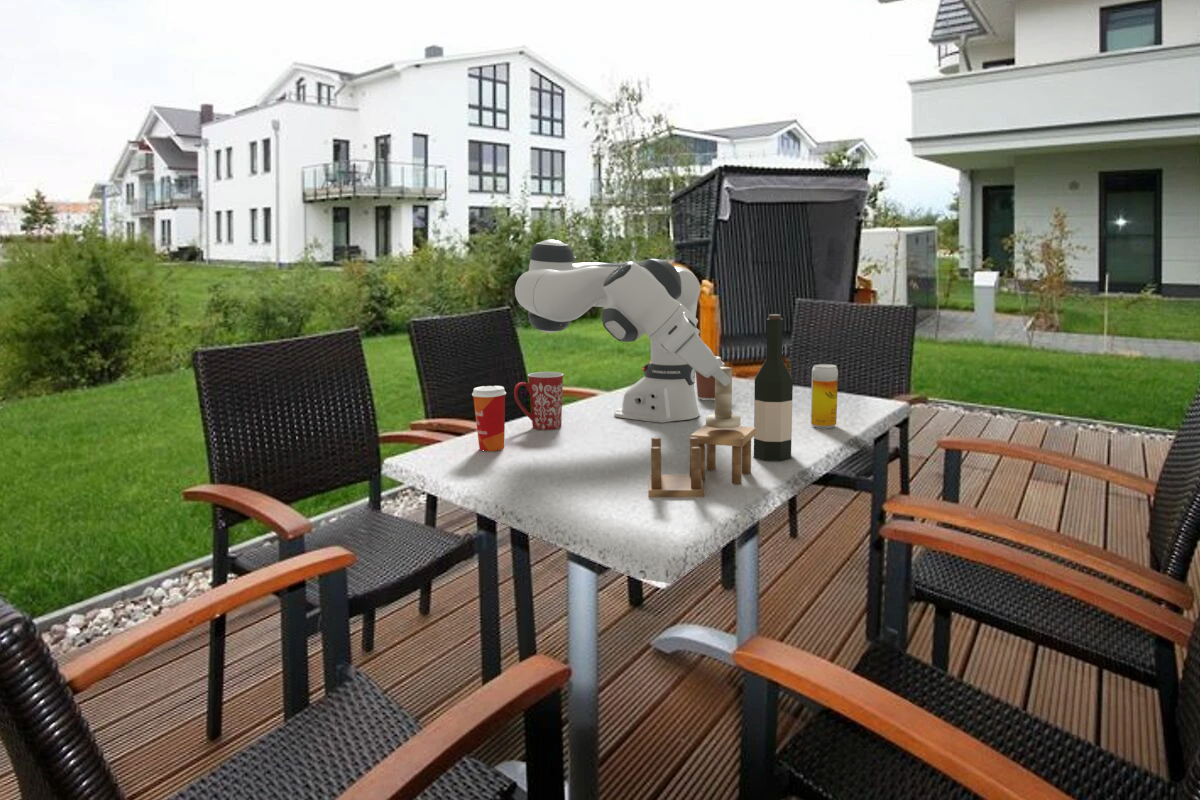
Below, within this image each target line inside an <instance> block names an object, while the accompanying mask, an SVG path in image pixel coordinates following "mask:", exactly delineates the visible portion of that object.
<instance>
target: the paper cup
mask: <svg viewBox="0 0 1200 800" xmlns="http://www.w3.org/2000/svg"><path fill="white" fill-rule="evenodd" d="M506 394H507V392H506V391H505V387H504V386H502V385H493V386H492V385H486V386H485V385H482V386H477V387H474V388H473V391H472V393H471V395H472V398H473V406H474V414H475V423H476V424H475V425H476V431H477V432H476V433H477V440H478V441H477V442H478V447H479V450H480V449H481V450H484V451H495V452H498V451H497V450H500V451H502V450H501V449H503V448H504V449H505V435H506V434H505V432H506V431H505V428H506V425H505V423H506V422H505V420H506V419H505V418H506V415H505V413H506V411H505V410H506V407H505V406H506ZM504 449H503V450H504ZM481 450H480V451H481ZM484 451H483V452H484Z"/></svg>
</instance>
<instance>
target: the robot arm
mask: <svg viewBox="0 0 1200 800" xmlns="http://www.w3.org/2000/svg"><path fill="white" fill-rule="evenodd" d="M528 258H529V267H528V271H525V272H523V273H522V274H521V275H520V276H519V277H518V279H517V281H516V284H515V286H514V287H515V288H514V295H515V298H516V301H517V303H518V304H519V305H520V306H521V307H522V308H524V309H525V310H526V311H527V316H528V321H529V323H530V325H531V326H532V327H533V328H534V329H536V330H538V331H540V332H543V333H550V334H551V333H557V332H561V331H564V330H565V329H566V328H567V327H569V325H570V323H571V321H574V320H577V319H579V318H580V317H581V316H583V315H584V314H585V313H586V312H588V311H589V310H590V309H592V307H595V308H596V307H597V308H598V307H599V308H600V307H602V308H603V309H602V310H601V321H602V325H603V328H604V329H605V330H606V331H607V332H608V333H609V334H610V336H612V337H613V338H614V339H615V340H616V341H619V342H621V343H622V342H623V343H625V342H626V343H631V342H635V341H637V340H639V339H640V338H641V337H643V336H644V334H645V335H647V337H648V338H649V339H650V361H649V362H647V363H646V364H645V365H644V366H642V367H641V368H642V370H641V371H642V372H643V373H644V376H643V377H642V378H640V379H639V380H638V381H637V382H635V383H634V384H633V385H632V386H630V387H629V388H628V389H626V391H625V392H624V394H623V397H622V399H623V400H622V405H621V406H620V407H618V408H617V409H616V410H614V412H613V416H614V417H615V418H623V419H630V420H638V421H645V422H654V423H660V424H661V423H662V424H663V423H669V422H675V421H676V422H678V421H686V420H692V419H696V418H697V417H699V416H700V411H699V408H698V404H697V399H696V391H695V383H696V371H697V372H699V373H700V374H701V375H703V376H704V377H706V378H709V377H710V376H711V375H712V376H713V377H715V378H716V379H717V380H719V381H720V382H721V383H722V384H723V385H724V386H727V385H728V384H729V383H730V382H731V379H730V377H729V376H728V375H727V374H726V373H725V372H724V371H723V370H722V369H721V368H720V363H719V361H718V360H717V358H716V357H715V354H714V353H713V351H712V349H711V348H710V347H709V346H708V345H707V344H706V343H705V342H704V341H703V340H702V339H701V336H699V335H700V332H701V331H700V329H698V328H697V325H698V322H699V320H698V318H697V317H696V315H697V308H698V299H699V298H700V295H701V287H700V286H701V285H700V282H699V279H698V278H697V276H696V275H695V274H694V273H693V272H692V271H691V270H690V269H688V268H686V267H683V266H682V267H681V266H675V265H673V264H671V263H670V262H668V261H666V260H663V259H659V258H658V259H657V258H649V259H648V258H647V259H645V260H642V261H640V262H634V261H626V262H595V261H594V262H589V261H588V262H585V261H584V262H575V261H577V260H578V258H577V256H575V255H574V252H573V249H572V248H571V247H570V246H569V244H567V243H565V242H563V241H560V240H558V239H557V240H556V239H545V240H542V241H540V242H536V243H535V244H533V245H532V246H531V249H530V253H529V256H528Z"/></svg>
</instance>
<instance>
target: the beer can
mask: <svg viewBox="0 0 1200 800" xmlns="http://www.w3.org/2000/svg"><path fill="white" fill-rule="evenodd" d="M838 383H839V369H838V367H837V365H836V364H831V363H830V364H827V363H820V364H814V365H813V367H812V369H811V389H810V391H811V393H810V395H811V396H810V424H811V425H812V427H813V426H814V427H813V428H815V427H817V428H816V429H820V428H830V429H833V428H834V427H835V426H836V425H837V417H838V414H837V412H838V388H839V387H838V386H839V385H838ZM832 427H833V428H832Z"/></svg>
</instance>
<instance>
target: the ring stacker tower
mask: <svg viewBox="0 0 1200 800" xmlns="http://www.w3.org/2000/svg"><path fill="white" fill-rule="evenodd" d="M720 368H721V369H722V370H723V371H724V372H725V373H726V374H727V375H728V376H729V377H730V379H731V382H730V383H729V384H728V385H727V386H724V385H723V384H722V383H721V382H720V381H719V380H717V379H716V378H715V400H714V414H713V413H712V414H709V415H706V416H705V425H707V426H709V427H713V428H735V427H738V426H741V416H739V415H738V414H733V411H732V409H733V408H732V407H733V405H732V404H733V400H732V399H733V368H732V367H729V366H724V367H720Z"/></svg>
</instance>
